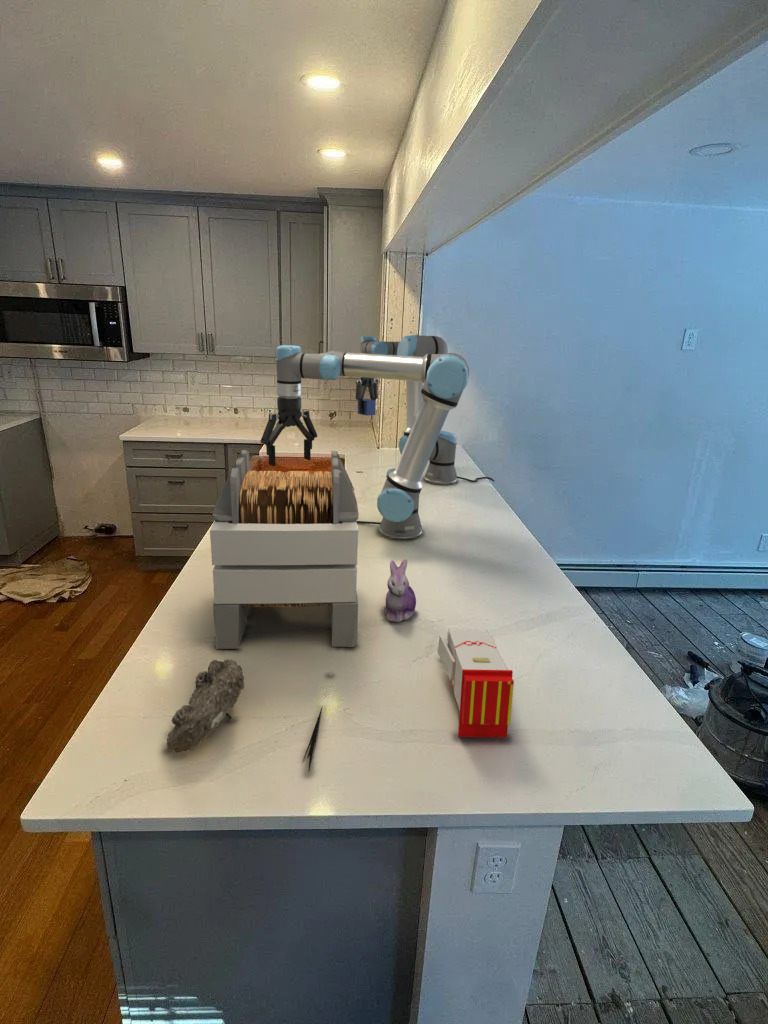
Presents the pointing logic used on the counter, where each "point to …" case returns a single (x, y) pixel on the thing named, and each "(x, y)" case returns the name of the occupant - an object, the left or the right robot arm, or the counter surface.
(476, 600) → the counter surface
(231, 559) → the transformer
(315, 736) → the feather
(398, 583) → the figurine
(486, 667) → the toy
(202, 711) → the fossil
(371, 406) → the block
